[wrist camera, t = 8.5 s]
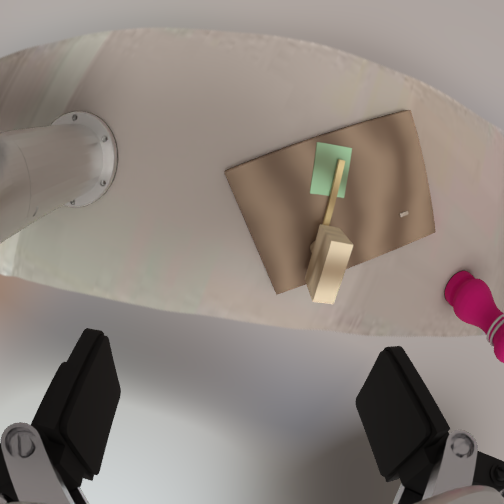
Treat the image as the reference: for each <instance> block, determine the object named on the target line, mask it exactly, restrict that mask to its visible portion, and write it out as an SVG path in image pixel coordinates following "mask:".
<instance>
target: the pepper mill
mask: <svg viewBox="0 0 504 504" xmlns="http://www.w3.org/2000/svg"><path fill="white" fill-rule="evenodd" d="M445 298H446V300H447V301H448V302H449V304H450V305H451V306H453V308H454V312H455V314H456V316H457V317H458V318H459V319H461V320H462V321H464V322H466V323H468V324H472V325H475V326H477V327H479V328H481V329H482V330H483V331H484V332H485V333H486V335H487V341H488V342H490V344H491V345H492V346H494V353H495V355H496V357H497V359H499V360H500V361H501V362H503V363H504V314H503V313H502V312H501V311H500V310H499V309H498V308H497V306H496V305H495V303H494V300H493V297H492V294H491V291H490V289H489V287H488V286H487V285H486V283H485V282H484V281H482V280H481V279H475V278H474V277H473V276H472V275H471V274H470V273H469V272H467V271H461V272H458V273H457V274H455V275H454V276H453V277H452V278H451V279H450V281H449V282H448V284H447V286H446V289H445Z"/></svg>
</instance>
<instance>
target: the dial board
mask: <svg viewBox="0 0 504 504" xmlns="http://www.w3.org/2000/svg"><path fill="white" fill-rule="evenodd" d="M338 159H340V160H344V161H345V165H344V169H343V174H342V178H341V182H340V186H339V190H338V194H337V198H336V202H335V206H334V209H333V213H332V217H331V221H330V224H329V226H332V227H337V228H340V229H341V230H342V232H343V233H344V234H345V235H346V236H347V238H348V239H349V240H350V241H351V242H352V244H353V248H352V251H351V255H350V258H349V261H348V264H347V267H346V269H347V268H350V267H352V266H355V265H358V264H360V263H363V262H365V261H368V260H370V259H373V258H375V257H378V256H380V255H383V254H385V253H387V252H390V251H392V250H395V249H397V248H400V247H402V246H404V245H407V244H409V243H412V242H414V241H416V240H419V239H421V238H423V237H426V236H428V235H430V234H432V233H435V223H434V216H433V209H432V202H431V196H430V190H429V185H428V179H427V174H426V169H425V164H424V160H423V155H422V151H421V147H420V143H419V139H418V135H417V131H416V127H415V124H414V120H413V117H412V113H411V110H405V111H401V112H397V113H393V114H389V115H386V116H382V117H378V118H375V119H371V120H368V121H364V122H361V123H358V124H354V125H351V126H348V127H344V128H341V129H338V130H335V131H332V132H329V133H326V134H323V135H320V136H317V137H314V138H311V139H308V140H305V141H302V142H299V143H296V144H293V145H291V146H288V147H285V148H282V149H280V150H277V151H274V152H271V153H269V154H266V155H263V156H261V157H258V158H256V159H253V160H250V161H248V162H245V163H243V164H240V165H238V166H235V167H233V168H230V169H228V170H226V171H225V172H224V173H225V175H226V178H227V180H228V182H229V185H230V187H231V189H232V191H233V194H234V196H235V198H236V201H237V203H238V205H239V208H240V210H241V212H242V215H243V217H244V219H245V222H246V224H247V226H248V229H249V231H250V233H251V236H252V238H253V240H254V243H255V245H256V247H257V250H258V252H259V254H260V257H261V259H262V261H263V264H264V266H265V268H266V271H267V273H268V275H269V278H270V280H271V282H272V285H273V287H274V289H275V292H276V294H280V293H283V292H286V291H288V290H291V289H294V288H297V287H299V286H302V285H305V284H306V281H305V276H306V273H307V269H308V266H309V262H310V259H311V255H312V252H311V250H310V246H311V244H312V243H313V242H314V241H316V237H317V233H318V229H319V226H320V224H321V225H322V224H323V220H324V216H325V212H326V208H327V204H328V200H329V196H330V192H331V188H332V184H333V180H334V176H335V172H336V167H337V163H338Z"/></svg>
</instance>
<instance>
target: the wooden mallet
mask: <svg viewBox="0 0 504 504" xmlns="http://www.w3.org/2000/svg"><path fill="white" fill-rule="evenodd" d="M344 165H345V161H344V160H340V159H338V163H337V167H336V172H335V176H334V180H333V184H332V188H331V192H330V196H329V200H328V204H327V208H326V212H325V216H324V220H323V224H322V225H321V224H320V226H319V229H318V233H317V237H316V241H314V242H313V243H312V244H311V246H310V250H311V252H312V255H311V259H310V262H309V266H308V269H307V273H306V276H305V281H306V284H307V287H308V290H309V293H310V295H311V298H312V301H313V302H319V303H328V304H334V301H335V298H336V296H337V293H338V290H339V287H340V284H341V282H342V279H343V276H344V273H345V270H346V267H347V264H348V261H349V258H350V255H351V251H352V248H353V244H352V242H351V241H350V240H349V239H348V238H347V236H346V235H345V234H344V233H343V232H342V230H341V229H340V228H337V227H332V226H329V224H330V221H331V217H332V213H333V209H334V206H335V202H336V198H337V194H338V190H339V186H340V182H341V178H342V174H343V169H344Z"/></svg>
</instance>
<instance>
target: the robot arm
mask: <svg viewBox="0 0 504 504" xmlns="http://www.w3.org/2000/svg"><path fill="white" fill-rule="evenodd" d="M77 117H78V118H77ZM107 137H108V140H107V139H106V138H107ZM116 168H117V147H116V142H115V139H114V137H113V134H112V132H111V131H110V129H109V127H108V126H107V125H106V123H105V122H104V121H103V120H102V119H100V118H99V117H97V116H96V115H94V114H91V113H88V112H81V111H77V112H71V113H66V114H64V115H62V116H60V117H59V118H58V119H56V120H55V121H54V122H53V123H52V124H51V125H50V126H42V127H34V128H26V129H19V130H12V131H6V132H0V244H1V243H2V242H4V241H5V240H6V239H8V238H10V237H11V236H13V235H14V234H16V233H17V232H19V231H21V230H22V229H24V228H25V227H27V226H29V225H30V224H32V223H33V222H35V221H37V220H38V219H40V218H42V217H44V216H45V215H47V214H49V213H50V212H52V211H54V210H56V209H57V208H59V207H61V206H63V205H65V206H69V207H83V206H87V205H89V204H91V203H93V202H95V201H96V200H98V199H99V198H100V197H101V196H102V195H104V194H105V192H106V191H107V190H108V188H109V187H110V185H111V183H112V181H113V179H114V176H115V172H116ZM104 181H106V183H105V182H104ZM120 393H121V390H120V385H119V381H118V377H117V373H116V369H115V365H114V361H113V356H112V352H111V348H110V343H109V339H108V337H107V336H104V333H103V332H102V331H99V330H93V329H88V328H87V329H85V330H84V331H83V333H82V335H81V337H80V338H79V340H78V342H77V344H76V346H75V347H74V349H73V351H72V353H71V355H70V357H69V359H68V360H67V362H63V363H62V364H61V365H60V367H59V368H58V370H57V372H56V374H55V376H54V378H53V380H52V382H51V384H50V386H49V388H48V390H47V392H46V394H45V396H44V398H43V400H42V402H41V404H40V406H39V408H38V410H37V413H36V415H35V417H34V419H33V421H32V424H31V425H29V424H27V423H14V424H12V425H10V426H8V427H7V428H6V429H5V430H4V432H3V434H2V437H1V443H0V504H89V503H88V501H87V499H86V497H85V496H84V494H83V492H82V490H81V488H80V486H81V483H82V479H83V478H85V479H88V480H93V476H94V475H97V474H99V471H100V467H101V463H102V459H103V455H104V451H105V447H106V444H107V440H108V436H109V433H110V429H111V425H112V422H113V418H114V415H115V412H116V408H117V405H118V402H119V398H120ZM356 407H357V410H358V412H359V415H360V418H361V421H362V423H363V426H364V429H365V432H366V434H367V437H368V440H369V443H370V445H371V448H372V451H373V454H374V457H375V459H376V462H377V465H378V468H379V471H380V473H381V475H382V476H384V477H385V479H386V482H390V481H393V480H397V479H399V478H400V480H401V486H400V489H399V491H398V493H397V495H396V497H395V500H394V502H393V504H504V462H503V461H502V460H499V459H496V458H494V457H492V456H489V455H486V454H484V453H482V452H479V451H478V449H477V448H478V447H477V442H476V440H475V438H474V437H473V436H472V435H471V434H470V433H469V432H467V431H464V430H455V431H453V432H451V434H450V435H449V433H448V431H449V429H450V427H449V426H448V424H447V422H446V420H445V418H444V417H443V415H442V413H441V411H440V410H439V408H438V406H437V404H436V403H435V401H434V399H433V397H432V395H431V394H430V392H429V390H428V389H427V387H426V385H425V383H424V382H423V380H422V379H421V377H420V375H419V374H418V372H417V370H416V369H415V367H414V366H413V364H412V362H411V361H410V359H409V357H408V356H407V354H406V353H405V351H404V349H403V348H402V347H400V346H397V347H396V346H395V347H386V348H385V349H384V350H383V351H382V352H380V354H379V356H378V358H377V360H376V362H375V364H374V366H373V368H372V370H371V372H370V374H369V376H368V378H367V379H366V381H365V383H364V385H363V387H362V389H361V390H360V392H359V394H358V396H357V398H356Z"/></svg>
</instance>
